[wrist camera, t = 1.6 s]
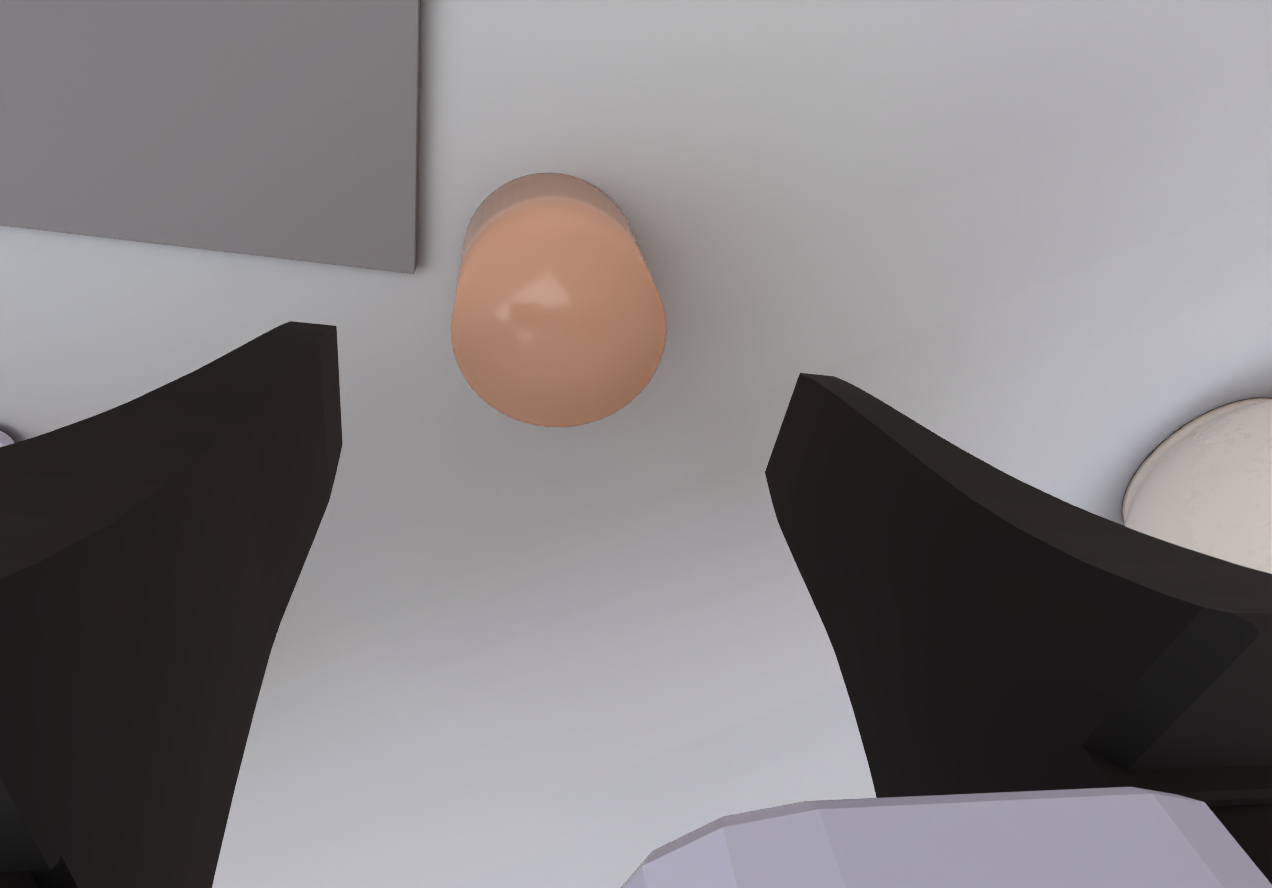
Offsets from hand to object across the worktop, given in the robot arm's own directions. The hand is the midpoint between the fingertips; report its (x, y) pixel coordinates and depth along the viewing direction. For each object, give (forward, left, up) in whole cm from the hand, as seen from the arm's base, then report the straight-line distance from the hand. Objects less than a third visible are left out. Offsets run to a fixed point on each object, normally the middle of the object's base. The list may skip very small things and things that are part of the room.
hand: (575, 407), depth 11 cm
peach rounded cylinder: (0, 0, -7) cm, 7 cm away
